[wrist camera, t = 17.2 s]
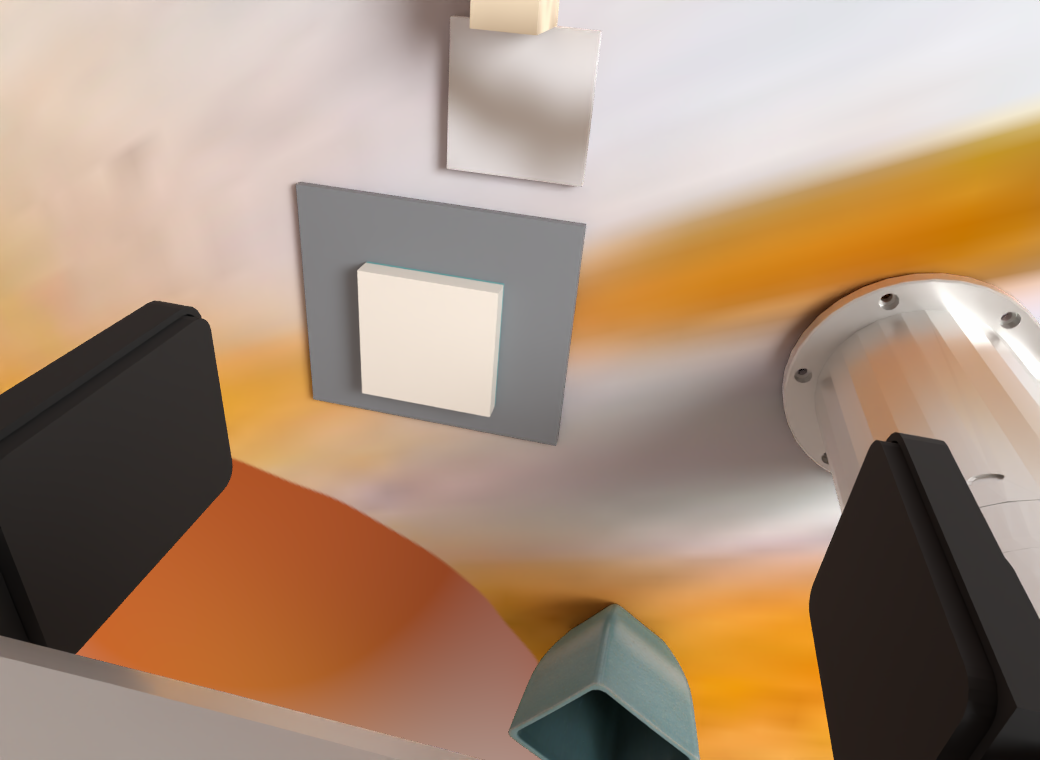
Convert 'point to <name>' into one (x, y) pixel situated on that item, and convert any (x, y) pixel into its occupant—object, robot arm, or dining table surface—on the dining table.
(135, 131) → the dining table surface
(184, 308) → the robot arm
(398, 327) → the tile
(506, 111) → the turner
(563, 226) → the mat
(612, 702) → the flower pot
